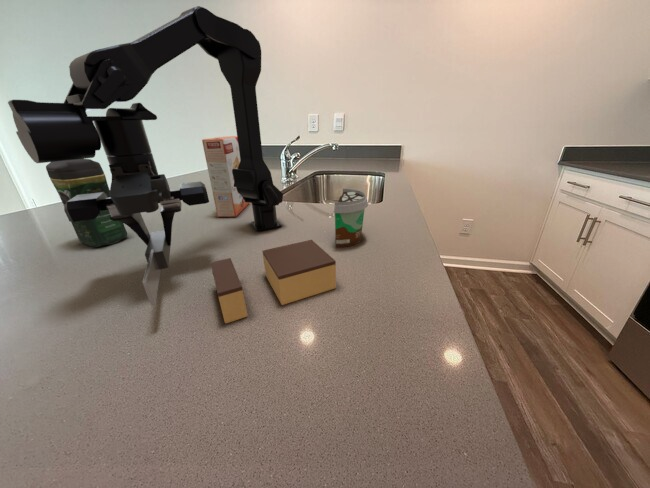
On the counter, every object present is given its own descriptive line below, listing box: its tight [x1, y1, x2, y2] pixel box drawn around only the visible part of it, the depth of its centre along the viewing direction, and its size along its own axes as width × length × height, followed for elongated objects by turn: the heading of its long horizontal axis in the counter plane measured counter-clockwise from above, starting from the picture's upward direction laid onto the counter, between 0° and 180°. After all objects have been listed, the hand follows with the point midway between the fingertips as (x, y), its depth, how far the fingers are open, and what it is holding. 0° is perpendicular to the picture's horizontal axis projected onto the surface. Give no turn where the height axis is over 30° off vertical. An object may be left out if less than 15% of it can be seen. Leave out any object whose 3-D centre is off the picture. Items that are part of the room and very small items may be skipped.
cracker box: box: [201, 135, 250, 218], centre depth 75 cm, size 14×6×21 cm, turn 179°
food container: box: [333, 188, 369, 248], centre depth 56 cm, size 12×6×10 cm, turn 168°
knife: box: [141, 229, 172, 307], centre depth 40 cm, size 20×2×4 cm, turn 26°
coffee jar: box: [45, 158, 128, 248], centre depth 57 cm, size 10×8×19 cm
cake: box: [261, 239, 337, 306], centre depth 42 cm, size 9×9×5 cm
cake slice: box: [210, 257, 249, 324], centre depth 37 cm, size 9×3×5 cm, turn 27°
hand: (160, 246), depth 46 cm, fingers closed on knife, 2 cm apart
